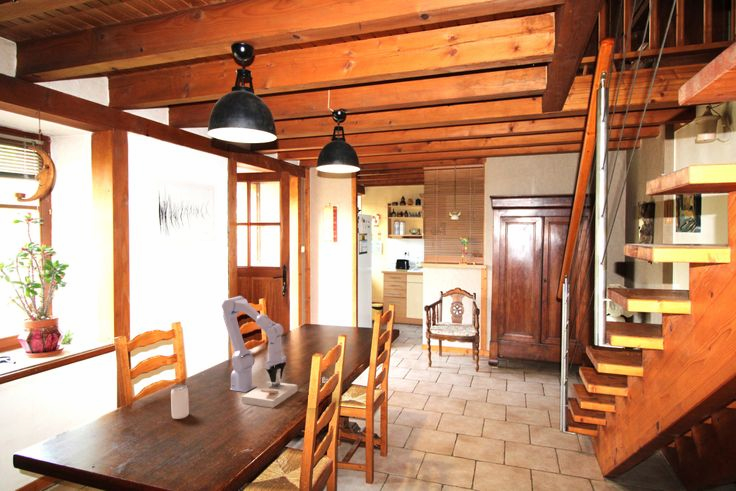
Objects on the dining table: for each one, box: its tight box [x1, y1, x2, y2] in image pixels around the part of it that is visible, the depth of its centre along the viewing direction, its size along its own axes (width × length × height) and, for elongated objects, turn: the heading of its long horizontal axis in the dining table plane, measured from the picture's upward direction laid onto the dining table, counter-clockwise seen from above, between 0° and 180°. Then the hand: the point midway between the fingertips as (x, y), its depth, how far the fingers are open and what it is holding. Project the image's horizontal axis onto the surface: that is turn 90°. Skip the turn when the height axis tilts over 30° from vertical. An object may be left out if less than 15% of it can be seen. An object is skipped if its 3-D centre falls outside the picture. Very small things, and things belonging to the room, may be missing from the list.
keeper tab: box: [261, 390, 278, 393], centre depth 190 cm, size 4×8×1 cm, turn 159°
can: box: [170, 384, 190, 420], centre depth 177 cm, size 6×6×12 cm
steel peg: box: [272, 367, 281, 387], centre depth 200 cm, size 5×5×8 cm
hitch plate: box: [241, 380, 298, 409], centre depth 196 cm, size 16×20×3 cm
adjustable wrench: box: [321, 375, 332, 383], centre depth 206 cm, size 25×6×2 cm, turn 166°
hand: (276, 380), depth 200 cm, fingers closed on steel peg, 4 cm apart
